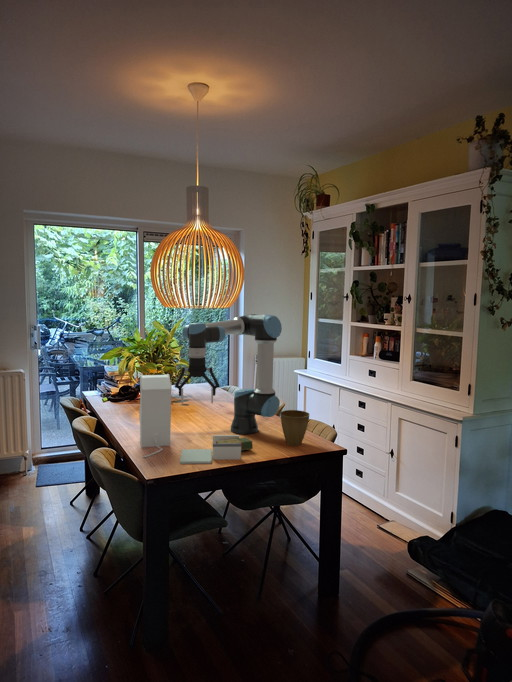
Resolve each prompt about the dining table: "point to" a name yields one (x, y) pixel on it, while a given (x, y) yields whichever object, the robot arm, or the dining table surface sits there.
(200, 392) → the dining table surface
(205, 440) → the dining table surface
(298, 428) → the plant pot
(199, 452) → the plate
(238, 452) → the rack
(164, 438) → the tall slanted-top box
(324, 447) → the dining table surface
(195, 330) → the robot arm
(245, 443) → the carton
